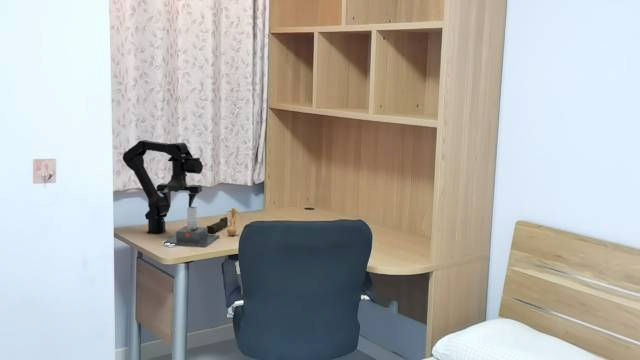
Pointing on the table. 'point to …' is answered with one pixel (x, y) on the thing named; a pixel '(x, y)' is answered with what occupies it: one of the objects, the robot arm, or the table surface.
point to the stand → (192, 237)
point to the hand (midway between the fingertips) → (179, 207)
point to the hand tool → (217, 225)
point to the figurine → (231, 230)
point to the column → (192, 218)
